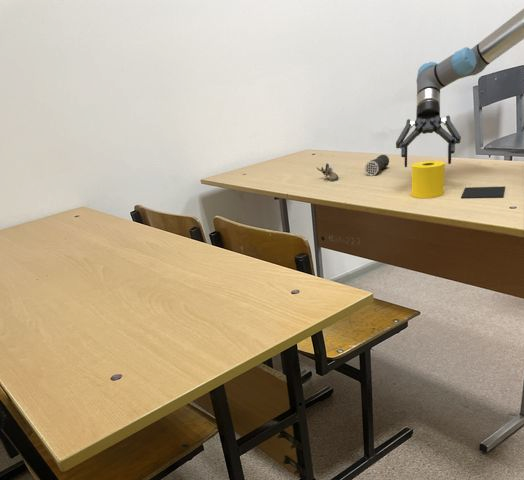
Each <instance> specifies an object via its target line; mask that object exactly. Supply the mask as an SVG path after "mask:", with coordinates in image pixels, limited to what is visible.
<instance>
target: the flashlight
mask: <svg viewBox="0 0 524 480" xmlns="http://www.w3.org/2000/svg"><path fill="white" fill-rule="evenodd" d="M389 164H390V158H389V156H388V155H386V154H380V155H378V156H377V157H376V158H374V159H371V160H369V161H367V163H366V164H365V166H364V172H365V173H366V175H368V176H369V177H373V176H375V175H377V174H379V173H380V172H381V170H382V169H386V168H387V167H388V166H389Z"/></svg>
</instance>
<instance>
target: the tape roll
mask: <svg viewBox="0 0 524 480" xmlns="http://www.w3.org/2000/svg"><path fill="white" fill-rule="evenodd" d="M445 170H446V163H445V161H442V160H426V161H424V160H423V161H419V162H415V163H413V164H412V165H411V197H412V198H417V199H432V198H438V197H441V196H443V195H444V191H445Z"/></svg>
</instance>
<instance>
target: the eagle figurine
mask: <svg viewBox="0 0 524 480" xmlns="http://www.w3.org/2000/svg"><path fill="white" fill-rule="evenodd" d="M316 169H317V170H318V171H319V172H321V173H322V174H323V179H322V181H325V180H326V179H327V177H328V176H329V181H331V182H336V181H338V180H339V175H338V174H337V173H336V172H334V167H333V165H331V164H330V163H325V168H324V167H323V166H321V167H320V168H319V167H318V166H317V167H316Z"/></svg>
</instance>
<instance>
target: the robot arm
mask: <svg viewBox="0 0 524 480" xmlns="http://www.w3.org/2000/svg"><path fill="white" fill-rule="evenodd" d="M523 40H524V8H522V9H521V10H520V11H518V12H517V13H515V14H514V15H513V16H512V17H511V18H509V19H508V20H507V21H506V22H504V23H503V24H502V25H500V26H499V27H497V28H496V29H495V30H493V32H491V33H490V34H488V35H486V37H484V38H483V39H482V40H481V41H480V42H478V43H477V44H475V45H474V46H473V47H472V48H470V47H466V46H465V47H463V48H461V49H459V50H457V51H455V52H454V53H453V54H451V55H450V56H448V57H446V58H445V59H443V60H442V61H440V62H439V63H437V62H436V61H435V62H434V61H429V62H425V63H423V64H422V65H421V66H420V67H419V68H418V70H417V74H416V75H417V76H416V109H415V111H416V115H415V117H416V119H415V120H411V119H410V118H408V119H407V120H406V123H405V126H404V128H403V129H402V131H401V133H400V135H399V136H398V138H397V140H396V142H395V148H396V149H400V151H401V152H400V156H401V158H404V168H408V146H409V145H410V144H411V143H412V142H413V141H414V140H415V139H416V138H417V137H419V136H420V135H421V134H423V135H426V134H433V133H435V134H436V135H438V136H440V137H441V138H442V139H443V140H444V141H445V142H447V144H448V145H447V165H451V163H452V154H455V151H456V145H457V144H460V143H461V141H462V140H461V139H462V136H461V134H460V133H459V131H458V130H457V128H456V127H455V125H454V124H453V122H452V121H451V116H450V115H446V116H445V117H442V118H441V90H442V89H443V88H445V87H447V86H449V85H450V84H453V83H454V82H456V81H458V80H460V79H464V78H467V77H470V76H472V77H473V76H476V75H478V74H480V73H482V72H483V71H484V70H485V69H486V67H487V66H489V65H490V64H491V63H492V62H494V61H495V60H497V59H498V58H499V57H501V56H503V55H504V54H506V52H508V51H509V50H511V49H512V48H513V47H514V46H517V45H518V44H519V43H521V42H522V41H523ZM441 124H443V125H444V126H445V127H446V129H447V130H448V131H447V130H446V129H445V128H444V127H442V125H441ZM413 127H414V129H413V130H412V131H411V129H412V128H413ZM410 131H411V133H410ZM409 133H410V134H409Z"/></svg>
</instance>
